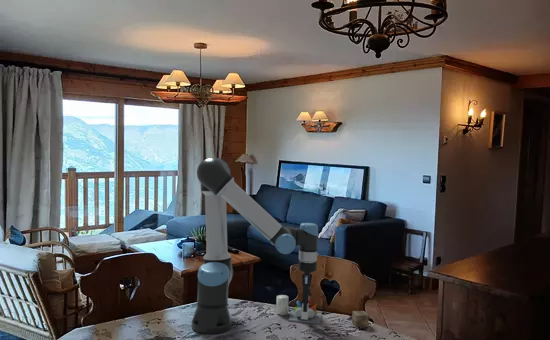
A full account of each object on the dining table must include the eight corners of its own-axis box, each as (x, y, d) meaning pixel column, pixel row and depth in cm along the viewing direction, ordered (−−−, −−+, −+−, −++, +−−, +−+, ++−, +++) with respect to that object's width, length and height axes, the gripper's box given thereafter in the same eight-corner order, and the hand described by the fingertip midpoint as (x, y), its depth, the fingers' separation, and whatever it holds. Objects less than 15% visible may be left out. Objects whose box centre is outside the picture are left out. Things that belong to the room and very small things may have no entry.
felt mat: (288, 321, 176) (288, 319, 176) (291, 312, 187) (291, 310, 187) (320, 324, 175) (320, 322, 175) (321, 314, 186) (321, 313, 186)
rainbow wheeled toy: (316, 320, 176) (316, 302, 176) (292, 318, 178) (293, 300, 178) (317, 313, 184) (318, 296, 184) (295, 311, 186) (295, 294, 186)
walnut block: (355, 327, 173) (356, 315, 172) (351, 323, 178) (352, 311, 177) (367, 327, 173) (368, 315, 173) (363, 323, 178) (364, 310, 178)
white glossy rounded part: (276, 315, 183) (276, 298, 183) (276, 311, 188) (276, 294, 188) (288, 315, 183) (288, 298, 183) (288, 311, 188) (288, 295, 188)
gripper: (315, 267, 170) (313, 325, 170) (317, 256, 191) (315, 307, 191) (296, 266, 171) (294, 323, 171) (300, 254, 192) (298, 306, 192)
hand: (305, 315), depth 181 cm, fingers closed on rainbow wheeled toy, 8 cm apart
